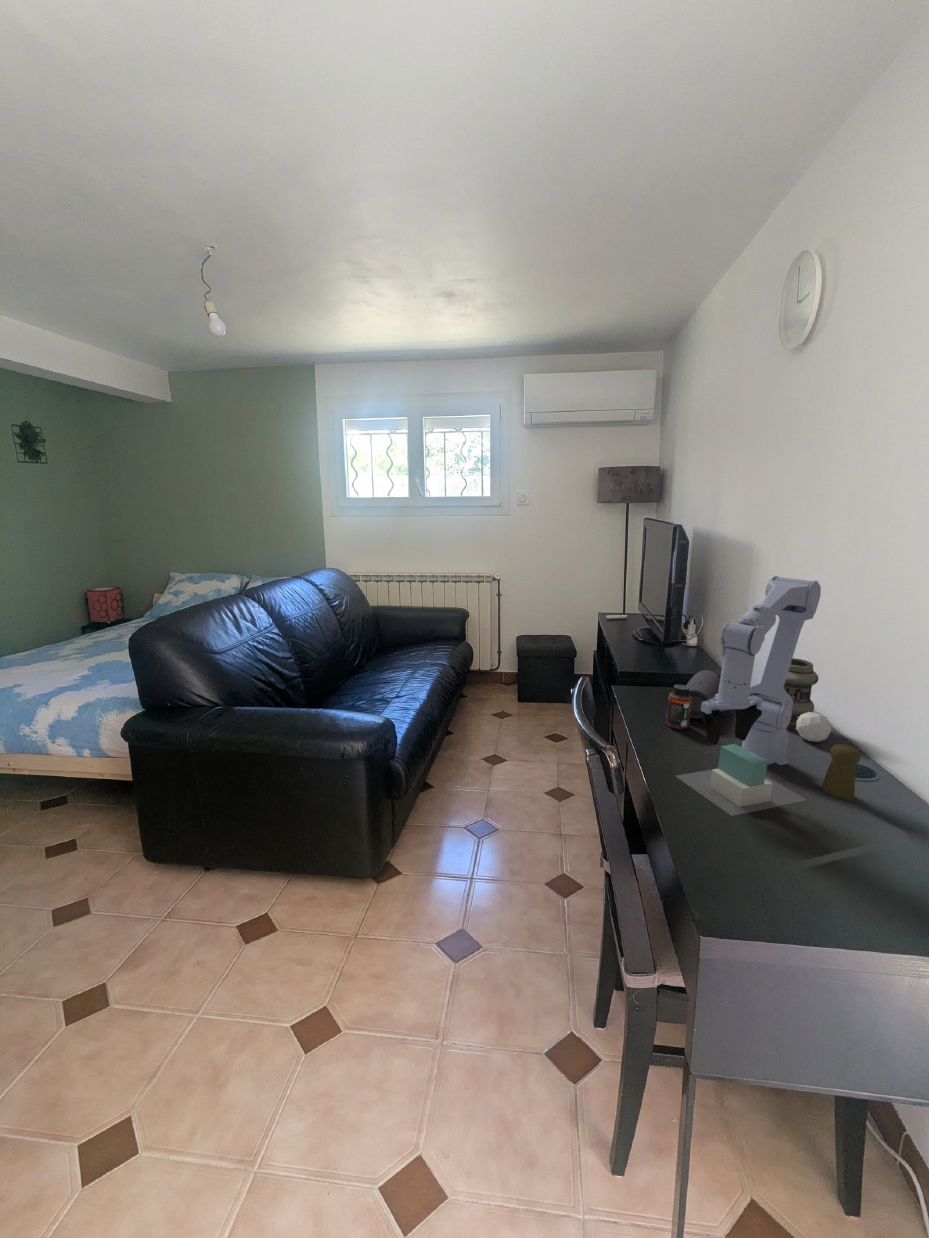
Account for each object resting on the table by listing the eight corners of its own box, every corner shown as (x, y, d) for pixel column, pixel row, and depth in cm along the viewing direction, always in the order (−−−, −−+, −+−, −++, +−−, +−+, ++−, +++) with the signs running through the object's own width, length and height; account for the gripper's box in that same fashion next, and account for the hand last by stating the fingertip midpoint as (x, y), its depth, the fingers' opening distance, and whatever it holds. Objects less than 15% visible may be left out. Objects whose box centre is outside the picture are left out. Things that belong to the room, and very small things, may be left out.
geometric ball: (816, 749, 142) (842, 730, 139) (806, 746, 137) (833, 726, 134) (794, 726, 147) (819, 707, 144) (784, 722, 142) (810, 703, 139)
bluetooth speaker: (710, 726, 148) (715, 692, 146) (675, 718, 153) (679, 685, 151) (721, 702, 167) (725, 671, 165) (689, 695, 172) (693, 665, 170)
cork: (848, 790, 117) (858, 743, 114) (858, 804, 111) (869, 755, 109) (816, 784, 119) (825, 738, 116) (824, 798, 113) (834, 750, 111)
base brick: (738, 781, 117) (741, 764, 116) (769, 800, 110) (773, 783, 109) (709, 786, 114) (712, 769, 114) (739, 807, 107) (742, 788, 106)
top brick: (731, 765, 116) (734, 743, 115) (764, 783, 109) (768, 760, 108) (717, 768, 114) (720, 746, 113) (750, 786, 107) (753, 763, 106)
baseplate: (744, 767, 125) (744, 764, 125) (806, 803, 111) (807, 800, 111) (674, 779, 119) (674, 775, 119) (731, 819, 104) (731, 815, 104)
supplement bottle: (690, 731, 144) (695, 691, 142) (667, 728, 146) (672, 689, 143) (686, 722, 150) (691, 684, 148) (663, 720, 151) (668, 682, 149)
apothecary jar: (752, 715, 157) (761, 656, 153) (783, 712, 160) (794, 654, 157) (787, 732, 146) (798, 669, 142) (820, 728, 149) (832, 666, 145)
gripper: (746, 671, 118) (737, 729, 121) (693, 677, 113) (685, 736, 116) (774, 682, 111) (764, 742, 114) (719, 688, 107) (710, 751, 110)
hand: (726, 740), depth 115 cm, fingers open, 7 cm apart
